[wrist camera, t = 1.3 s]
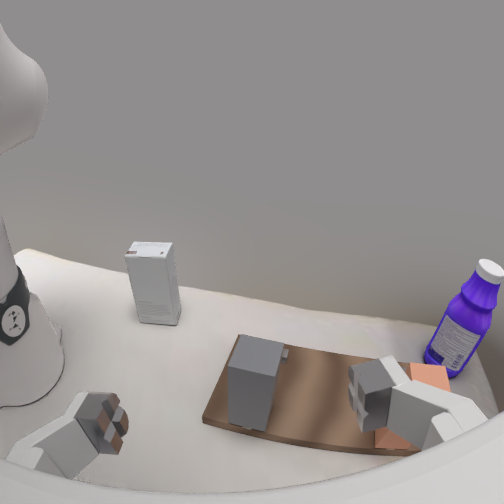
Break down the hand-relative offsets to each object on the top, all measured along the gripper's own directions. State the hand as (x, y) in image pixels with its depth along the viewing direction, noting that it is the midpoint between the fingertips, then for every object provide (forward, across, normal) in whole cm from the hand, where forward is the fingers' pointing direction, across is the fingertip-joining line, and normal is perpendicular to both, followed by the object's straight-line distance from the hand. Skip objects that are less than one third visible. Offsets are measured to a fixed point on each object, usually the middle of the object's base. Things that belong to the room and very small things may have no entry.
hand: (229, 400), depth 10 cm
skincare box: (+35, +15, +12) cm, 40 cm away
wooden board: (+20, -7, +20) cm, 30 cm away
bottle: (+24, -26, +24) cm, 43 cm away
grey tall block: (+17, +2, +17) cm, 25 cm away
